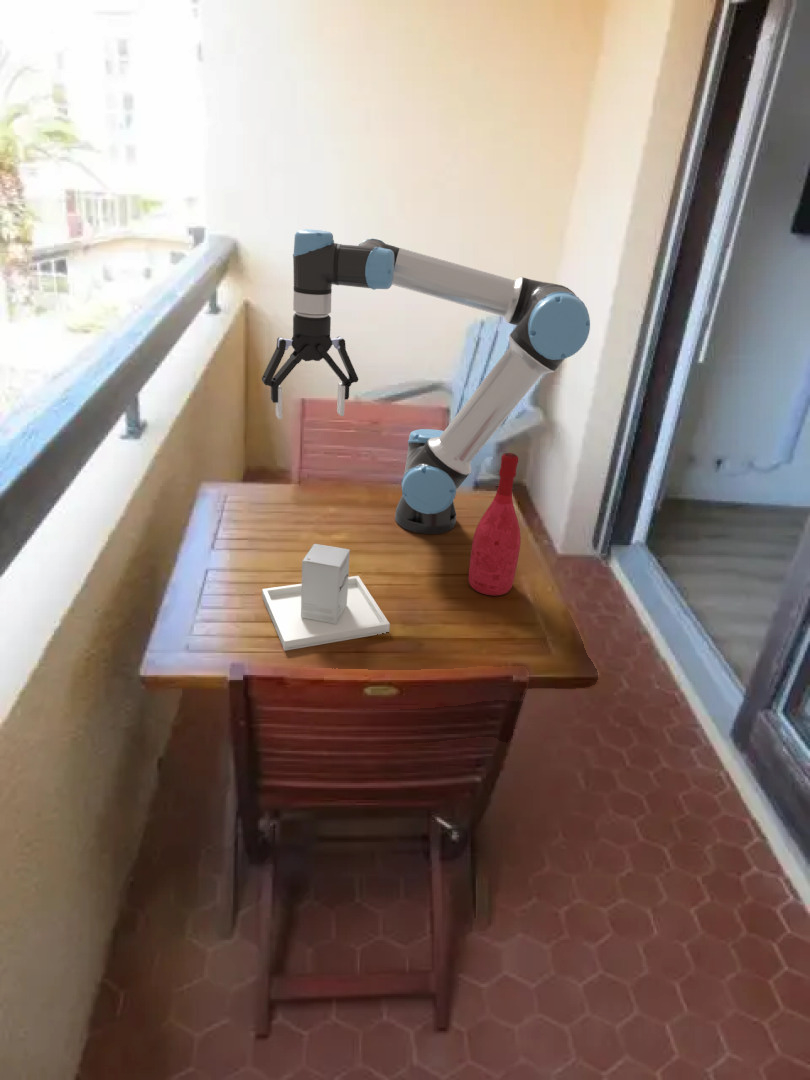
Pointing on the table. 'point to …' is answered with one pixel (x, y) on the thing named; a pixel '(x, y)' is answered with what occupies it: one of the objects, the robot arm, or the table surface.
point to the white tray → (301, 632)
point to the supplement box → (324, 583)
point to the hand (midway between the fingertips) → (310, 415)
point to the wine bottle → (497, 538)
